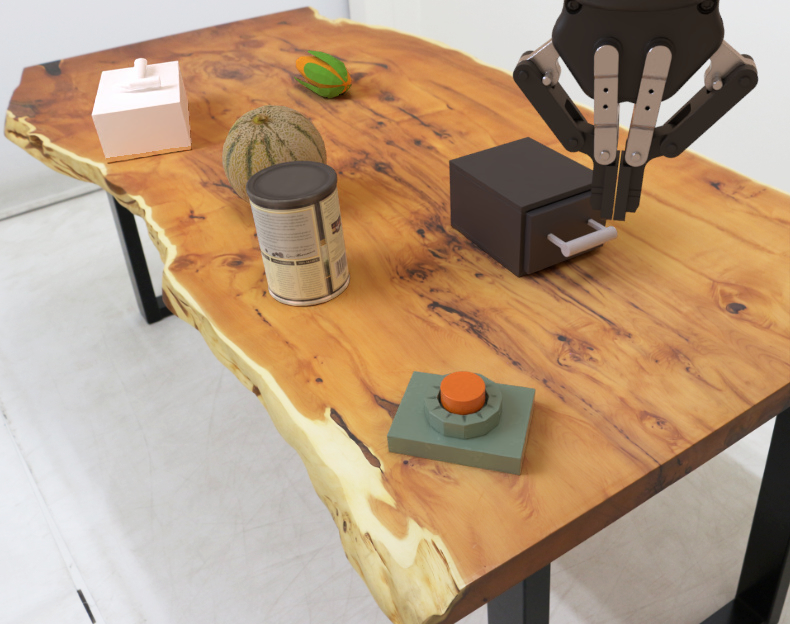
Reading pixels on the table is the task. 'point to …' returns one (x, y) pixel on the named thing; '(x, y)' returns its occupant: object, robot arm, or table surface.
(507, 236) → the small drawer cabinet
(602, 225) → the dark drawer
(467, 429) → the control block
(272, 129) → the cantaloupe
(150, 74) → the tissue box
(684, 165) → the table surface
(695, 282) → the table surface
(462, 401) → the button
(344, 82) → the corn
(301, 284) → the coffee can
